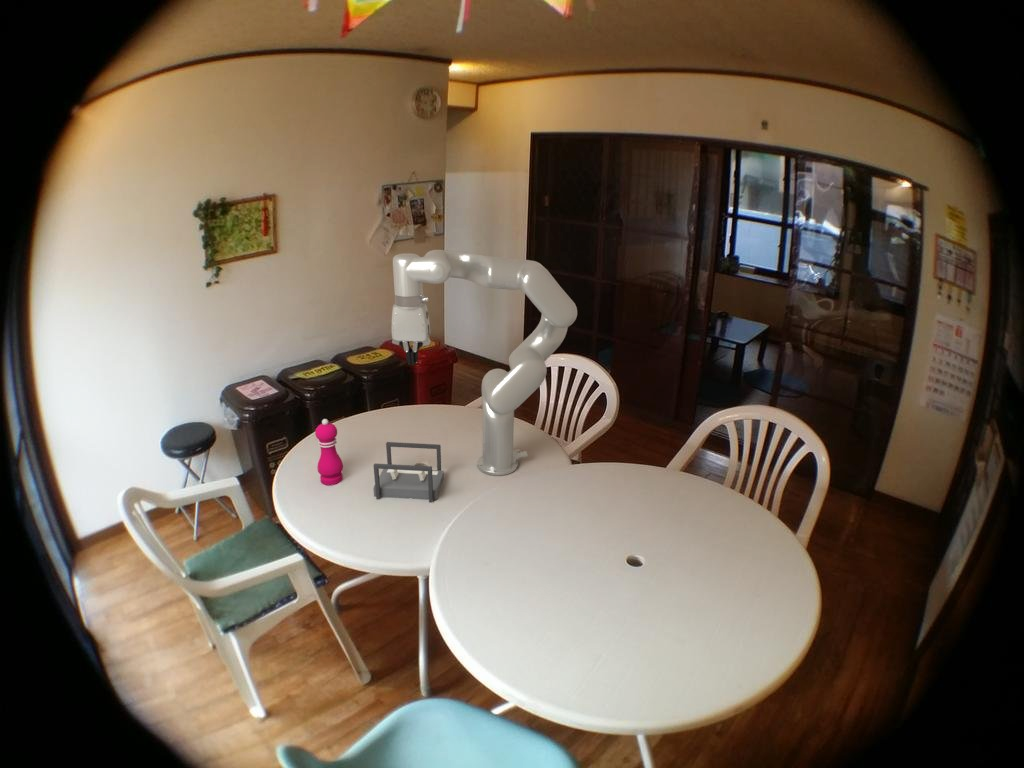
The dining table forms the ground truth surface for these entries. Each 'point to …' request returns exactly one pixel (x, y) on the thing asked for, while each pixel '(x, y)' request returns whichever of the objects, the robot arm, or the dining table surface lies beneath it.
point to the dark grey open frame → (407, 467)
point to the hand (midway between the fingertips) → (412, 363)
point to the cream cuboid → (422, 475)
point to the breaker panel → (409, 484)
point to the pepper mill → (328, 454)
